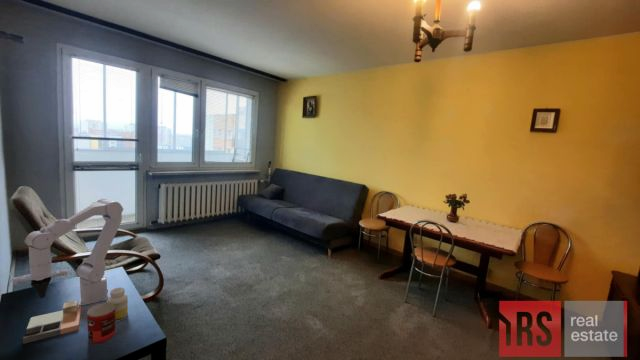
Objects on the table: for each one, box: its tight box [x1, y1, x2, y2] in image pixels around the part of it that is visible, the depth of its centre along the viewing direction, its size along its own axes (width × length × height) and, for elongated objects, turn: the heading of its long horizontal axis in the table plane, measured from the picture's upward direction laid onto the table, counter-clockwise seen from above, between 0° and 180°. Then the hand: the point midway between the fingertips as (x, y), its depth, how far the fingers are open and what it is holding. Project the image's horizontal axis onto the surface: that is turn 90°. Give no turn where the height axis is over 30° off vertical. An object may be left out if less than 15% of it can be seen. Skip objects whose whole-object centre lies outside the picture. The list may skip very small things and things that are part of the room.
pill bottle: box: [107, 287, 129, 323], centre depth 113 cm, size 6×6×12 cm
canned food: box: [86, 302, 116, 344], centre depth 103 cm, size 8×8×11 cm
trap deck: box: [22, 306, 82, 345], centre depth 107 cm, size 14×14×2 cm
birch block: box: [62, 300, 79, 318], centre depth 111 cm, size 4×4×4 cm
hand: (42, 296), depth 109 cm, fingers closed
